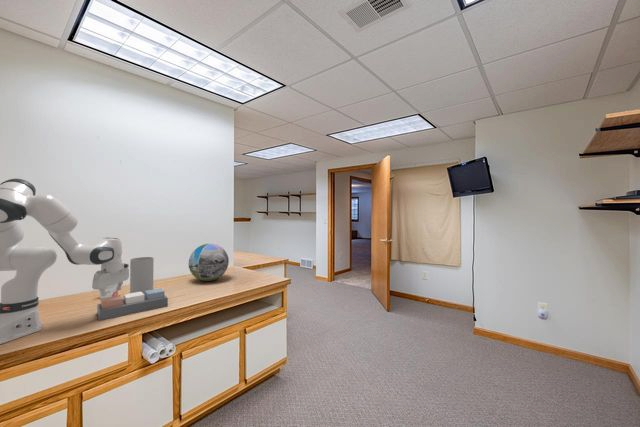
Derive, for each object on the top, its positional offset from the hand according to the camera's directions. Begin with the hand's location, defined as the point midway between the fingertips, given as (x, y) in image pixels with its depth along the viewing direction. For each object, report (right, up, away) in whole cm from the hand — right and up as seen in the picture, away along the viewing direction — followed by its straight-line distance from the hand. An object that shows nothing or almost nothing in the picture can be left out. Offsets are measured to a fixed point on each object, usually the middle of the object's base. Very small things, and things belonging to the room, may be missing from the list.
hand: (111, 292), depth 142 cm
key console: (+7, -12, +7) cm, 15 cm away
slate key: (+14, -7, +14) cm, 21 cm away
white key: (+7, -7, +7) cm, 12 cm away
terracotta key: (0, -7, 0) cm, 7 cm away
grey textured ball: (+22, -12, +72) cm, 76 cm away
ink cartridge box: (-26, -12, +30) cm, 41 cm away
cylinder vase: (-4, -12, +29) cm, 32 cm away
